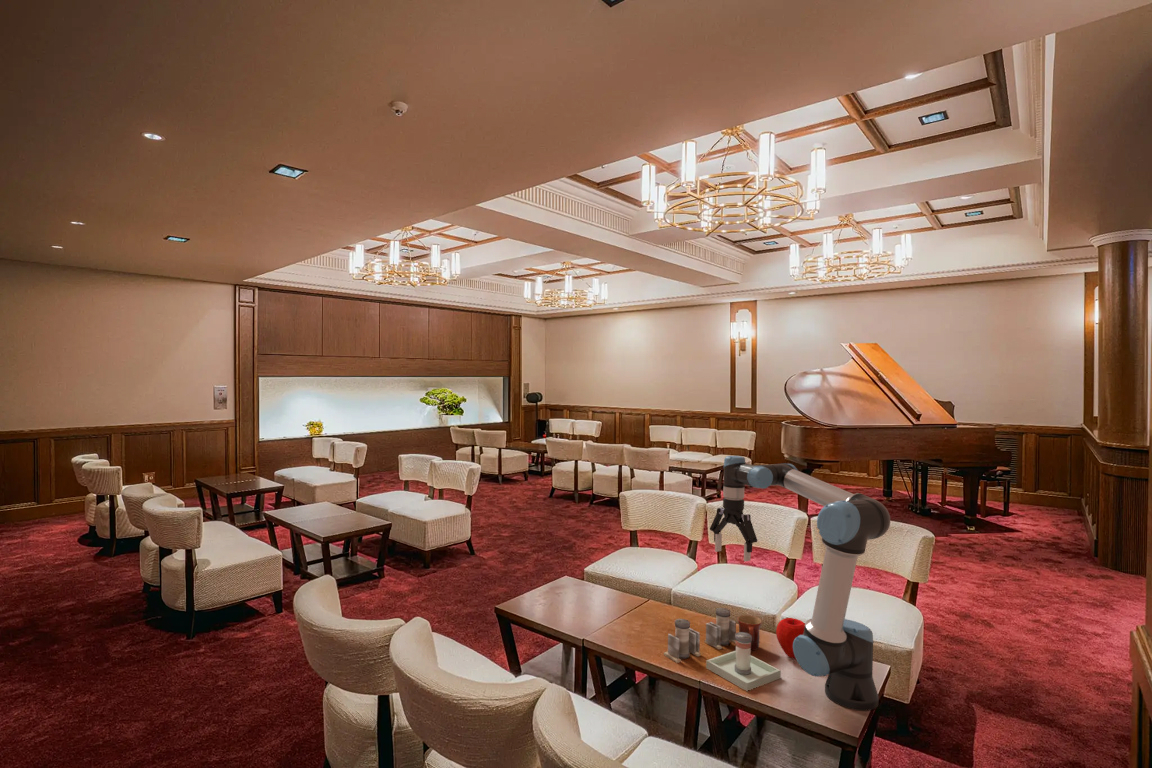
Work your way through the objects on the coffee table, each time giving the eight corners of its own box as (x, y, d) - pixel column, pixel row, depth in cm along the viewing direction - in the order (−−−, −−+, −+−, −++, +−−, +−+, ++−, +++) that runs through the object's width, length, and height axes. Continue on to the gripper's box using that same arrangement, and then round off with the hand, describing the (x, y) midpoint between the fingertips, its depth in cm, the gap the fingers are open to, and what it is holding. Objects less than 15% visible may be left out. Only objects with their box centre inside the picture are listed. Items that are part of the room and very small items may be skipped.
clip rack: (739, 642, 214) (740, 611, 214) (677, 663, 197) (677, 628, 197) (725, 635, 220) (726, 604, 220) (663, 655, 203) (664, 621, 203)
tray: (780, 678, 188) (780, 670, 188) (747, 691, 179) (747, 683, 179) (738, 656, 203) (739, 649, 203) (706, 668, 194) (706, 660, 194)
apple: (768, 650, 208) (769, 614, 208) (796, 647, 211) (797, 611, 211) (788, 665, 197) (789, 627, 197) (817, 662, 200) (818, 624, 200)
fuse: (754, 672, 190) (755, 636, 190) (743, 676, 187) (744, 640, 187) (741, 665, 195) (742, 630, 195) (731, 669, 192) (731, 634, 192)
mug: (735, 640, 216) (736, 613, 216) (759, 643, 214) (760, 616, 214) (738, 655, 204) (739, 626, 204) (763, 657, 202) (764, 629, 203)
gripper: (768, 503, 199) (767, 563, 199) (715, 491, 220) (713, 546, 220) (754, 505, 195) (753, 566, 195) (701, 493, 216) (700, 548, 216)
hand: (732, 555), depth 208 cm, fingers open, 13 cm apart
